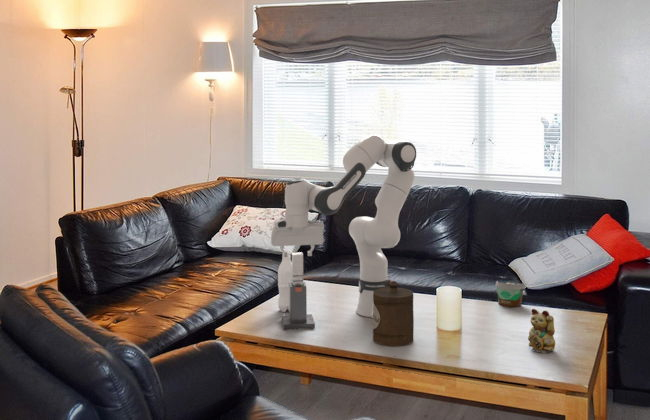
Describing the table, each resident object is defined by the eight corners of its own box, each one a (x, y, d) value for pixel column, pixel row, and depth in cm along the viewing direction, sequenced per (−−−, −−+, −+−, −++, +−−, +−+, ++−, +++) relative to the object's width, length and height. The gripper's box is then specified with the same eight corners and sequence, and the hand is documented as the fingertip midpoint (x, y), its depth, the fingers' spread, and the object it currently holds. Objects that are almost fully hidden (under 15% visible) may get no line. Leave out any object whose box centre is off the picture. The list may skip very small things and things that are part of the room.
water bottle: (293, 313, 323) (292, 253, 319) (276, 312, 324) (275, 253, 320) (297, 308, 330) (296, 249, 326) (280, 307, 331) (280, 249, 327)
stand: (311, 319, 315) (311, 278, 312) (314, 328, 303) (314, 286, 301) (281, 320, 314) (281, 279, 311) (283, 329, 302) (283, 287, 299)
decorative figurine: (524, 350, 279) (525, 308, 276) (533, 344, 285) (535, 303, 283) (550, 355, 273) (552, 313, 270) (559, 349, 279) (561, 308, 277)
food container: (492, 306, 332) (493, 283, 330) (495, 302, 338) (495, 280, 336) (522, 309, 327) (523, 286, 326) (524, 305, 333) (525, 282, 331)
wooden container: (377, 332, 299) (378, 275, 295) (416, 335, 295) (417, 278, 291) (368, 344, 285) (368, 285, 281) (409, 348, 281) (410, 288, 277)
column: (302, 302, 309) (302, 252, 306) (303, 305, 305) (303, 254, 302) (292, 302, 309) (291, 252, 306) (293, 305, 305) (292, 254, 302)
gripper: (322, 218, 306) (323, 253, 309) (270, 220, 304) (271, 255, 306) (324, 221, 300) (325, 257, 302) (270, 223, 298) (271, 259, 300)
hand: (297, 256), depth 304 cm, fingers open, 8 cm apart
